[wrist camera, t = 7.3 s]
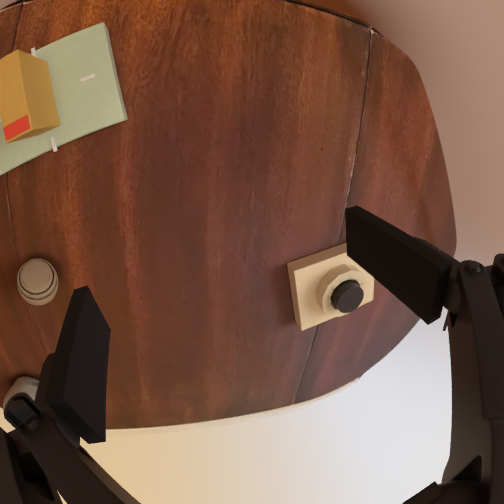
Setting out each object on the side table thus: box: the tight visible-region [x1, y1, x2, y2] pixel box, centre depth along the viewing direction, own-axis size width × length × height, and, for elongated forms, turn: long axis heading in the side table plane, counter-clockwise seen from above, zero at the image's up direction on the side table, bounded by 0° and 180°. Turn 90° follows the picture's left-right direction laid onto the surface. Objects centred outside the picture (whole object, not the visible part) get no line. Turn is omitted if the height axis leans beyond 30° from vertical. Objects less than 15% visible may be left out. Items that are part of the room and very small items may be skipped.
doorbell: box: [287, 243, 374, 331], centre depth 40 cm, size 12×10×4 cm
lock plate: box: [0, 22, 128, 175], centre depth 21 cm, size 14×11×3 cm
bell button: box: [331, 280, 364, 313], centre depth 38 cm, size 4×4×2 cm
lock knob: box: [0, 50, 60, 143], centre depth 17 cm, size 6×2×7 cm, turn 11°
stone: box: [3, 376, 39, 410], centre depth 32 cm, size 10×10×10 cm
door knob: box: [17, 259, 58, 305], centre depth 27 cm, size 5×5×5 cm
